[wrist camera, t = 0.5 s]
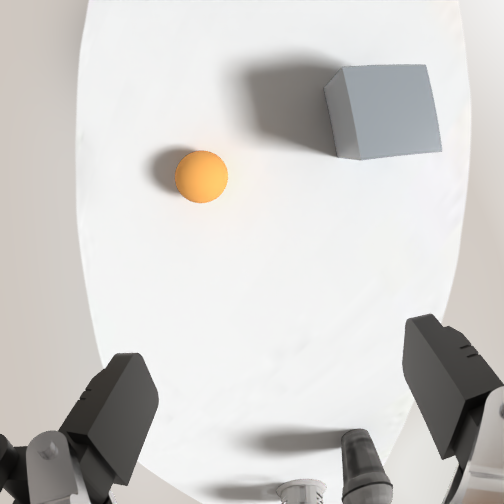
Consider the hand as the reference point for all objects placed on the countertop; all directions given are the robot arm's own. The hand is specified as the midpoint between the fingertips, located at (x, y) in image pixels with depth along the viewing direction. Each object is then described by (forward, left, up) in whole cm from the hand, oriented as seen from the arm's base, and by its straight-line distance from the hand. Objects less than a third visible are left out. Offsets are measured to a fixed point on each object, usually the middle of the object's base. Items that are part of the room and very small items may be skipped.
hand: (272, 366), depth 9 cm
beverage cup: (+37, +7, -25) cm, 46 cm away
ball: (-5, -6, -23) cm, 24 cm away
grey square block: (-8, +11, -25) cm, 28 cm away
